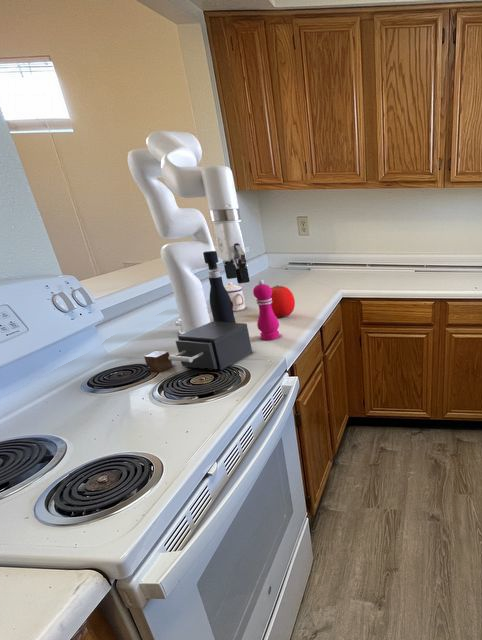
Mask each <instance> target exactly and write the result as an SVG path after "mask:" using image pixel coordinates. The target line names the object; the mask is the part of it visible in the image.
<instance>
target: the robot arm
mask: <svg viewBox="0 0 482 640" xmlns="http://www.w3.org/2000/svg"><path fill="white" fill-rule="evenodd" d="M146 146H147V147H142V148H140V147H139V148H135V149H132V150H130V151H129V152H128V154H127V165H128V169H129V173H130V175H131V176H132V178H133V180H134V182H135V185H137V187H138V189H139V190H140V192H141V193H142V194H143V197H144V198H145V201H146V203H147V206H148V210H149V212H150V215H151V218H152V220H153V223H154V227H155V229H156V231H157V233H158V235H159V236H160V237H161V238H163V239H165V240H166V239H167V240H176V239H189V238H193V239H194V240H185V241H177V242H170V243H167V244H164V245H163V246H162V247H161V249H160V252H159V253H160V258H161V261H162V264H163V265H164V268H165V270H166V272H167V274H168V278H169V281H170V284H171V288H172V291H173V295H174V299H175V303H176V307H177V311H178V314H179V318H178V319H177V320H176V321H175V322H174V324H175V326H179V327H180V329H179V330H178V333H179V335H181V334H184V333H186V332H188V331H191V330H193V329H196V328H198V327H201V326H203V325H205V324H208V323H210V322H211V318H210V314H209V313H210V312H209V309H208V305H207V301H206V296H205V292H204V287H203V284H202V281H201V279H200V278H199V277H198V276H196V275H195V274H194V273H193V272H192V271H194V270H200V269H206V268H209V267H208V264H206V263H205V260H204V255H203V252H208V251H216V250H217V256H218V259H220V260H222V262H223V263H222V264H223V267H224V273H225V277H226V279H227V280H232V279H236V282H237V284H239V285H240V284H241V285H242V284H246V283H250V275H249V270H248V264H247V259H246V258H247V257H246V256H247V255H246V254H247V253H246V249H245V243H244V238H243V234H242V231H241V226H240V223H241V222H242V220H241V213H240V208H239V207H240V206H239V202H238V198H237V192H236V185H235V180H234V174H233V171H232V169H231V168H230V167H229V166H226V165H206V166H199V164H200V162H201V161H202V156H203V150H202V146H201V143H200V142H199V140H198V138H197V137H196V136H195V135H193V134H192V133H190V132H186V131H171V130H155V131H152V132H151V133H150V134H149V135H148V136H147V138H146ZM159 179H163V181H164V183H165V184H164V183H163V182H162V181H160V180H159ZM174 194H175V195H176V196H179V197H181V198H185V199H188V198H189V199H193V198H205V199H206V202H207V208H208V212H209V213H208V214H209V217H210V222H211V224H213V228H214V229H213V230H214V236H215V243H216V248H217V249H216V248H215V245H214V241H213V238H212V235H211V232H210V229H209V226H208V223H207V221H206V218H205V216H204V214H203V213H202V212H201V211H200V210H199V209H197V208H194V207H183V208H181V207H179V206H178V204H177V201H176V198H175V195H174Z"/></svg>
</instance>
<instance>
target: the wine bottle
mask: <svg viewBox="0 0 482 640" xmlns="http://www.w3.org/2000/svg"><path fill="white" fill-rule="evenodd" d="M203 255H204V260H205V263H206V264H208V267H207V268H208V270H209V271H208V281H209V285H210V286H209V287H210V288H209V289H210V290H209V306H210V310H211V314H212V321H216V322H230V323H236V318H235V314H234V311H233V308H232V303H231V299H230V297H229V294H228V292H227V291H226V289H225V285H224V281H223V276H221V272H220V270H218V269H219V268H218V263H219V256H218V251H216V250H215V251H208V252H203Z"/></svg>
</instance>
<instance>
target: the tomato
mask: <svg viewBox="0 0 482 640" xmlns="http://www.w3.org/2000/svg"><path fill="white" fill-rule="evenodd" d="M270 288H271V290H272V295H271V297H270V298H272V303H271V307H272V310H273V313H274V314H275V316H276V317H277V318H283V317H288V316H291V314H292V313H293V312H294V310H295V306H296V305H295V304H296V301H295V296H294V294H293V292H292V291H291V289H289V288H288V287H287V286H284V285H278V284H276V285H275V286H272V287H270Z"/></svg>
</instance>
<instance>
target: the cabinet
mask: <svg viewBox="0 0 482 640" xmlns="http://www.w3.org/2000/svg"><path fill="white" fill-rule="evenodd" d="M177 339H178V340H184V339H190V340H201V341H212V343H213V347H214V351H215V355H216V360H217V364H218V365H217V369H215V370H214V371H220V372H222V371H223V370H225V369H226V368H228V367H230V366H232V365H233V364H235V363H237V362H239V361H241V360H242V359H244V358H246V357H247V356H249V355H251V354H253V348H252V344H251V339H250V333H249V328H248V324H247V323H244V322H243V323H242V322H235V323H230V322H216V321H214V320H212V321H210V323H208V324H205V325H203V326H201V327H198V328H196V329H193V330H191V331H188V332H186V333H184V334H181V335H180V334H179V335H177ZM221 366H222V367H221Z"/></svg>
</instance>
